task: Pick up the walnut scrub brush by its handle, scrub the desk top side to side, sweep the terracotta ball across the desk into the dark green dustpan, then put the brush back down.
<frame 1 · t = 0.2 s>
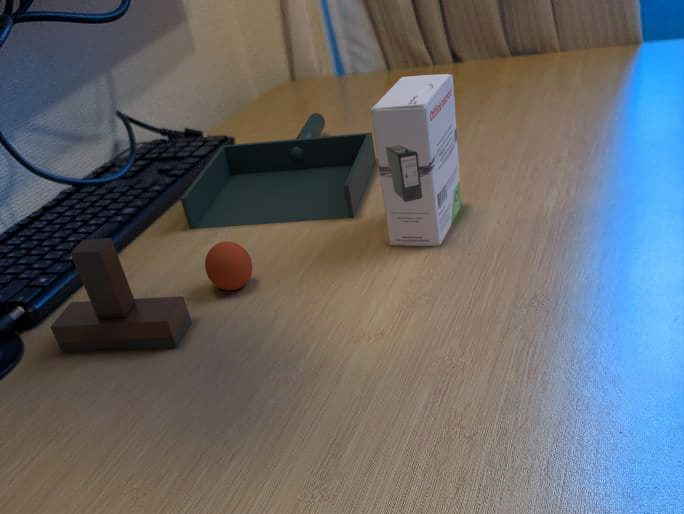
ink box: (427, 228, 76), on the table
ball: (228, 266, 71), point 2 cm above the table
brush: (128, 338, 68), on the table
dustpan: (286, 195, 86), on the table
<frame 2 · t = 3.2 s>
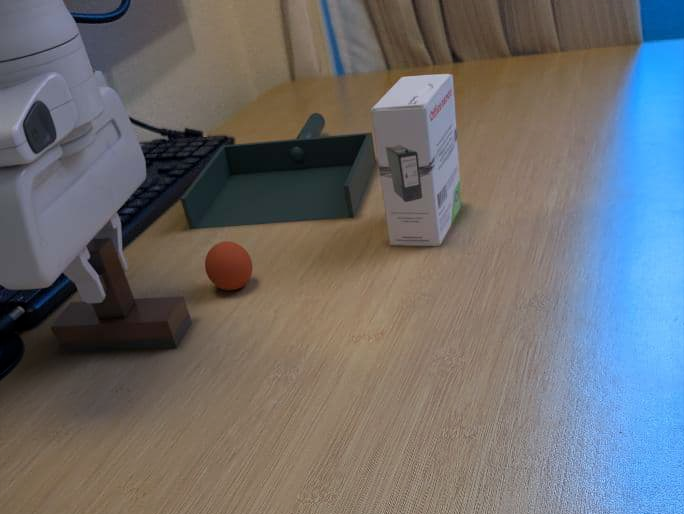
hand: (107, 287, 64), 5 cm above the table, tool pointing down, fingers closed on brush, 2 cm apart
brush: (128, 338, 68), on the table, touching gripper
everything else where it was.
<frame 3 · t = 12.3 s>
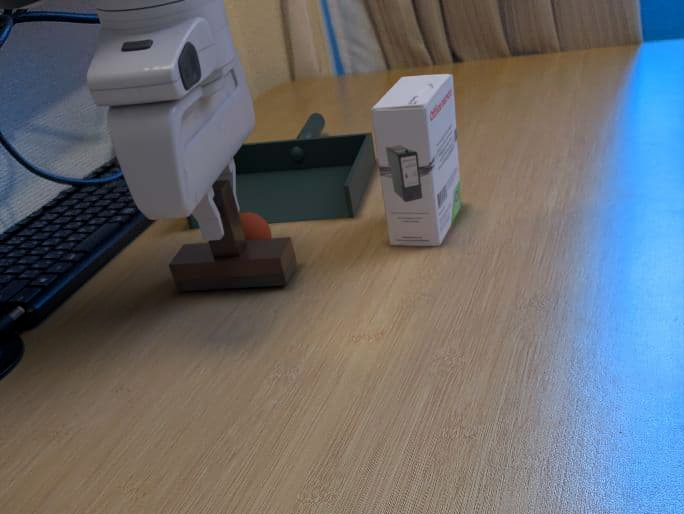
hand: (222, 227, 69), 5 cm above the table, tool pointing down, fingers closed on brush, 2 cm apart
ball: (249, 235, 75), point 2 cm above the table, tilted 171°
brush: (237, 277, 73), on the table, touching gripper
everything else where it was.
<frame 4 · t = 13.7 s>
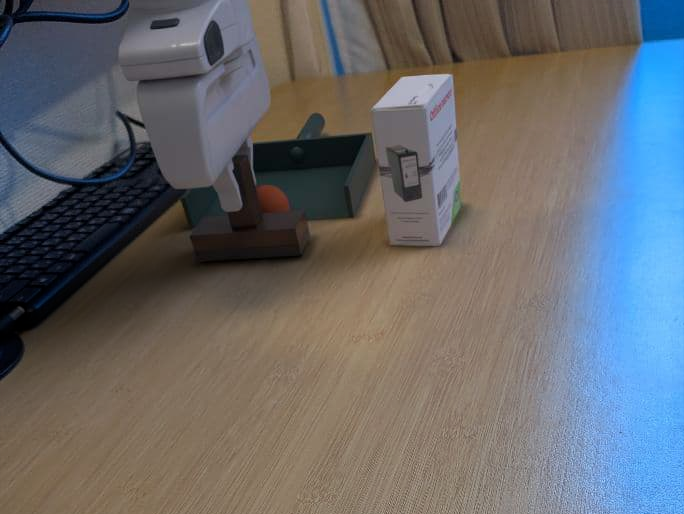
hand: (240, 199, 73), 5 cm above the table, tool pointing down, fingers closed on brush, 2 cm apart
ball: (268, 207, 79), point 2 cm above the table, tilted 11°
brush: (254, 248, 76), on the table, touching gripper
everything else where it was.
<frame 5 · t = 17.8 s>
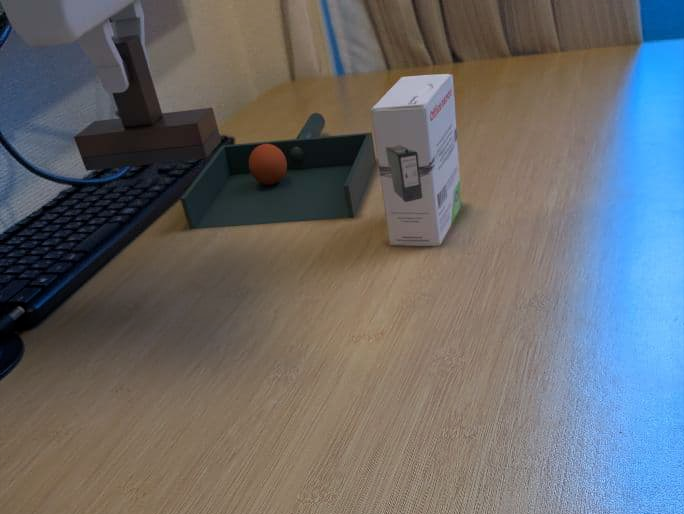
hand: (129, 82, 61), 17 cm above the table, tool pointing down, fingers closed on brush, 2 cm apart
ball: (267, 164, 87), point 2 cm above the table, tilted 73°, touching dustpan
brush: (154, 156, 65), point 11 cm above the table, touching gripper
everything else where it was.
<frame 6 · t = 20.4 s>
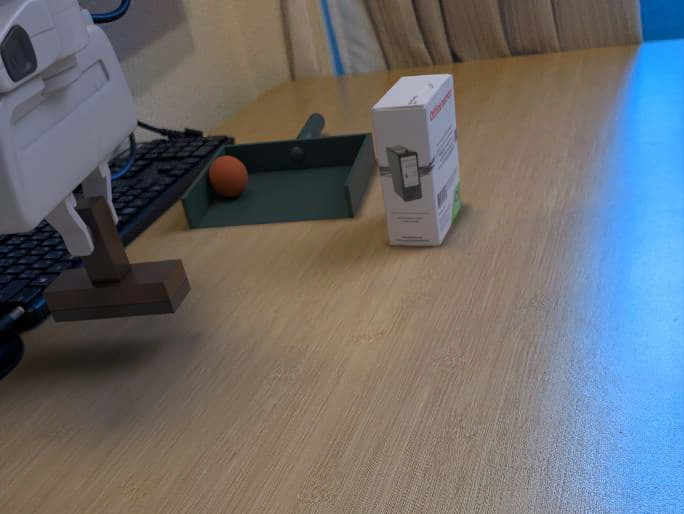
hand: (96, 240, 61), 9 cm above the table, tool pointing down, fingers closed on brush, 2 cm apart
ball: (228, 176, 86), point 2 cm above the table, tilted 154°, touching dustpan
brush: (123, 305, 64), point 3 cm above the table, touching gripper
everything else where it was.
when the fingers open (5 cm above the table, at t = 21.3 s): brush stays where it is, on the table.
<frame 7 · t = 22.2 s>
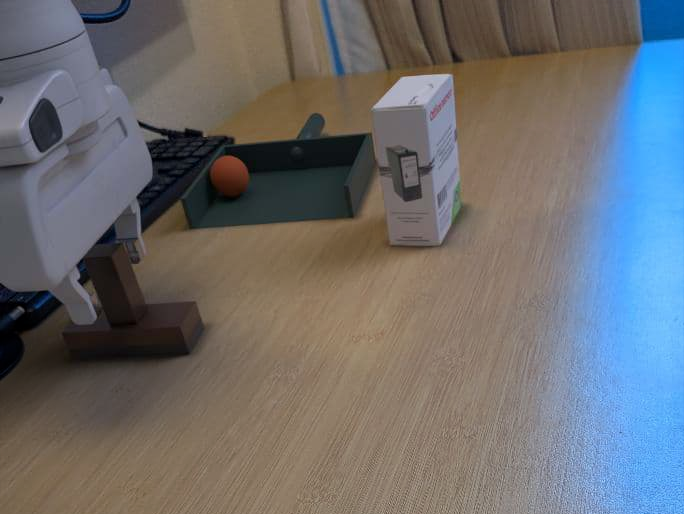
hand: (113, 288, 63), 5 cm above the table, tool pointing down, fingers open, 8 cm apart
brush: (139, 344, 67), on the table
everything else where it was.
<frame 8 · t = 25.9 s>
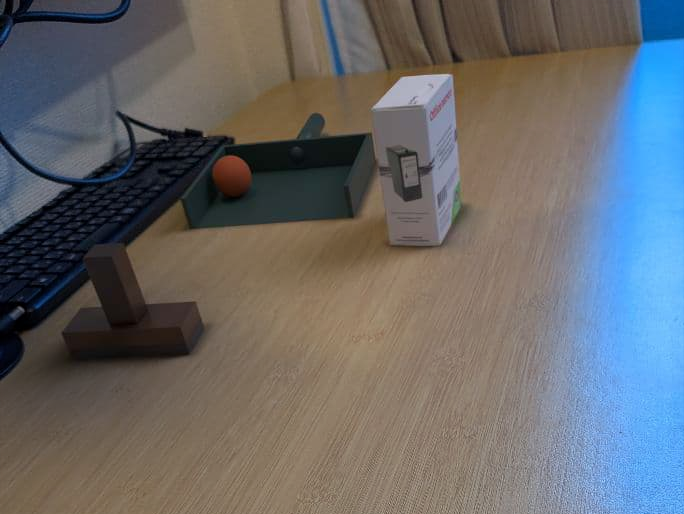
ball: (232, 176, 86), point 2 cm above the table, tilted 165°, touching dustpan
everything else where it was.
at the end: ball inside the target area in the dustpan (5.6 cm from its centre), point 2.1 cm above the dustpan's base; the gripper is holding nothing; brush inside the target area (0.6 cm from its centre), on the table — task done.
